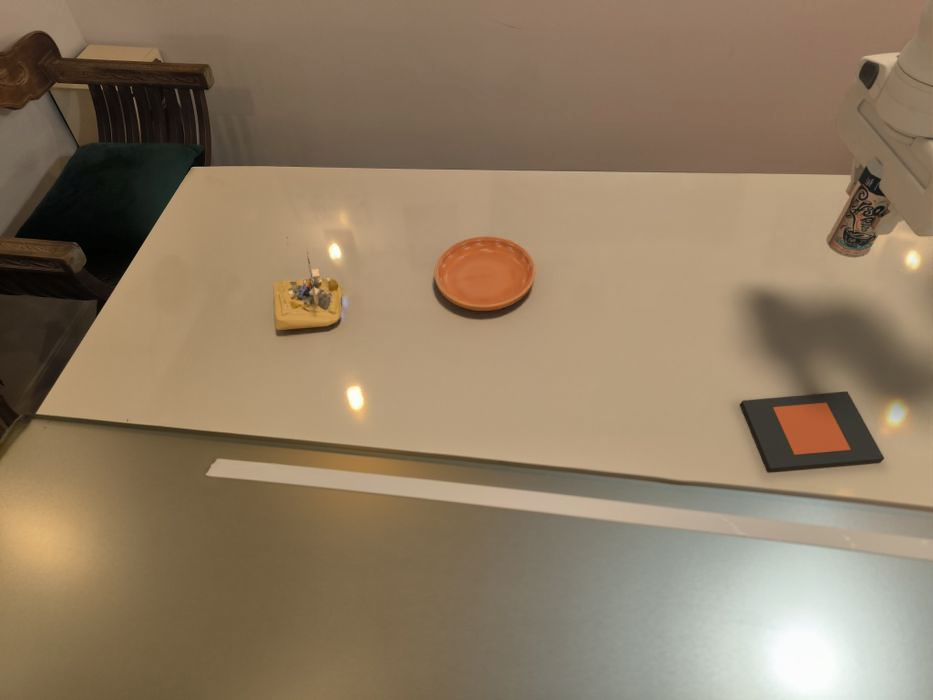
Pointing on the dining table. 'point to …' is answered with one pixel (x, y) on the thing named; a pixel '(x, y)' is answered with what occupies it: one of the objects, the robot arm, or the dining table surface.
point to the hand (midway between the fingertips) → (866, 212)
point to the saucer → (484, 273)
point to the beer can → (860, 214)
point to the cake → (307, 302)
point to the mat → (810, 431)
